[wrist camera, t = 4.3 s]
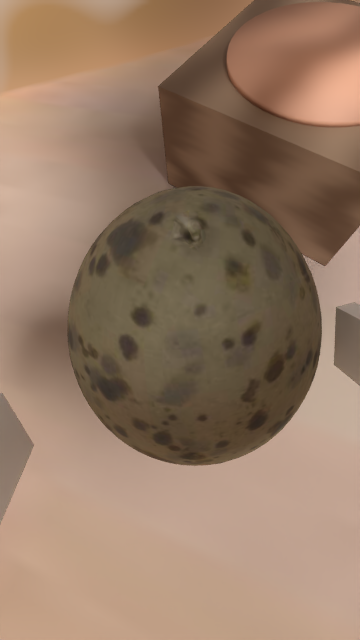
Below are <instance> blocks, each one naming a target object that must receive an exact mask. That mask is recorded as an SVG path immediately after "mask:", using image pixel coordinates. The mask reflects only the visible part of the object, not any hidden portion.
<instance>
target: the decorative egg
mask: <svg viewBox="0 0 360 640" xmlns="http://www.w3.org/2000/svg"><path fill="white" fill-rule="evenodd" d="M321 336H322V324H321V311H320V304H319V298H318V294H317V290H316V286H315V283H314V280H313V277H312V274H311V272H310V270H309V268H308V266H307V263H306V261H305V259H304V257H303V256H302V254H301V252H300V250H299V249H298V247H297V245H296V244H295V242H294V241H293V240H292V238H291V237H290V235H289V234H288V233H287V232H286V231H285V229H284V228H283V227H282V226H281V225H280V224H279V223H278V222H277V221H276V220H275V219H274V218H273V217H272V216H271V215H270V214H269V213H267V212H266V211H264V210H263V209H262V208H260V207H259V206H257V205H256V204H254V203H253V202H251V201H250V200H248V199H246V198H244V197H242V196H240V195H237V194H234V193H231V192H229V191H226V190H222V189H217V188H213V187H202V186H187V187H180V188H173V189H169V190H165V191H161V192H158V193H156V194H154V195H151V196H149V197H147V198H145V199H143V200H141V201H139V202H137V203H135V204H134V205H132V206H131V207H129V208H128V209H126V210H125V211H124V212H123V213H122V214H120V215H119V216H118V217H117V218H116V219H115V220H113V221H112V222H111V223H110V224H109V226H108V227H107V228H106V229H105V230H104V231H103V232H102V233H101V234H100V235H99V237H98V238H97V239H96V241H95V242H94V243H93V245H92V246H91V248H90V250H89V251H88V253H87V255H86V256H85V258H84V260H83V263H82V265H81V267H80V269H79V272H78V275H77V277H76V280H75V283H74V286H73V290H72V294H71V299H70V304H69V311H68V345H69V352H70V358H71V362H72V366H73V369H74V373H75V376H76V379H77V381H78V384H79V386H80V388H81V391H82V393H83V395H84V397H85V399H86V400H87V402H88V404H89V405H90V407H91V408H92V410H93V411H94V413H95V414H96V415H97V416H98V418H99V419H100V420H101V422H102V423H103V424H104V425H105V426H106V427H107V428H108V429H109V430H110V431H111V432H112V433H113V434H115V435H116V436H117V437H118V438H119V439H120V440H122V441H123V442H124V443H126V444H127V445H129V446H130V447H132V448H133V449H135V450H137V451H139V452H141V453H143V454H145V455H147V456H149V457H152V458H155V459H158V460H161V461H165V462H169V463H174V464H180V465H193V466H196V465H211V464H218V463H223V462H226V461H229V460H232V459H236V458H239V457H241V456H244V455H246V454H248V453H250V452H252V451H254V450H255V449H257V448H259V447H260V446H262V445H264V444H265V443H267V442H268V441H269V440H270V439H272V438H273V437H274V436H275V435H276V434H277V433H278V432H280V431H281V430H282V429H283V428H284V426H285V425H286V424H287V423H288V422H289V421H290V420H291V418H292V417H293V415H294V414H295V413H296V411H297V410H298V408H299V407H300V405H301V404H302V402H303V400H304V399H305V397H306V395H307V393H308V391H309V388H310V386H311V384H312V381H313V378H314V376H315V372H316V369H317V365H318V360H319V355H320V347H321Z"/></svg>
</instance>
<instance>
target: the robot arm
mask: <svg viewBox="0 0 360 640" xmlns="http://www.w3.org/2000/svg"><path fill="white" fill-rule="evenodd" d="M334 365H335V366H336V367H338V368H339V369H340V370H341V371H342V372H344V373H345V374H346V375H347V376H349V377H350V378H351V379H352V380H353V381H355V382H356V383H357V384H358V385H360V305H359V304H357V303H355V302H354V303H350V304H346V305H342V306H338V307H336V325H335V352H334ZM33 446H34V444H33V442H32V441H31V439H30V438H29V436H28V434H27V433H26V431H25V429H24V428H23V426H22V424H21V423H20V421H19V420H18V418H17V416H16V415H15V413H14V411H13V410H12V408H11V406H10V405H9V403H8V401H7V400H6V398H5V397H4V395H3V393H1V394H0V523H1V521H2V519H3V516H4V514H5V512H6V509H7V507H8V505H9V502H10V500H11V498H12V495H13V493H14V491H15V488H16V486H17V484H18V481H19V479H20V477H21V474H22V472H23V470H24V467H25V465H26V463H27V460H28V458H29V456H30V453H31V451H32V449H33Z"/></svg>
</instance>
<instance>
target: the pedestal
mask: <svg viewBox="0 0 360 640" xmlns="http://www.w3.org/2000/svg"><path fill="white" fill-rule="evenodd" d="M158 88H159V98H160V107H161V117H162V127H163V136H164V146H165V156H166V165H167V175H168V183H169V184H171V185H173V186H175V187H177V188H180V187H187V186H202V187H213V188H217V189H222V190H226V191H229V192H231V193H234V194H237V195H240V196H242V197H244V198H246V199H248V200H250V201H251V202H253V203H254V204H256V205H257V206H259V207H260V208H262V209H263V210H264V211H266V212H267V213H269V214H270V215H271V216H272V217H273V218H274V219H275V220H276V221H277V222H278V223H279V224H280V225H281V226H282V227H283V228H284V229H285V231H286V232H287V233H288V234H289V235H290V237H291V238H292V240H293V241H294V242H295V244H296V245H297V247H298V249H299V250H300V252H301V253H302V254H303V255H305V256H307V257H309V258H311V259H313V260H315V261H317V262H319V263H320V264H322V265H324V266H326V264H327V263H328V262H329V261H330V260H331V259H332V257H333V256H334V255H335V254H336V253H337V252H338V250H339V249H340V248H341V247H342V246H343V245H344V243H345V242H346V241H347V240H348V239H349V238H350V236H351V235H352V234H353V233H354V232H355V231H356V229H357V228H358V227H359V226H360V3H357V2H353V1H350V0H254V1H253V2H252V3H251V4H250V5H248V6H247V7H246V8H245V9H244V10H243V11H242V12H241V13H240V14H238V15H237V16H236V17H235V18H234V19H233V20H232V21H231V22H229V23H228V24H227V25H226V26H225V27H224V28H223V29H222V30H221V31H219V32H218V33H217V34H216V35H215V36H214V37H213V38H212V39H210V40H209V41H208V42H207V43H206V44H205V45H204V46H203V47H202V48H200V49H199V50H198V51H197V52H196V53H195V54H194V55H193V56H191V57H190V58H189V59H188V60H187V61H186V62H185V63H184V64H183V65H181V66H180V67H179V68H178V69H177V70H176V71H175V72H174V73H172V74H171V75H170V76H169V77H168V78H167V79H166V80H165V81H164V82H162V83H161V84H160V85H159V86H158Z"/></svg>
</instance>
